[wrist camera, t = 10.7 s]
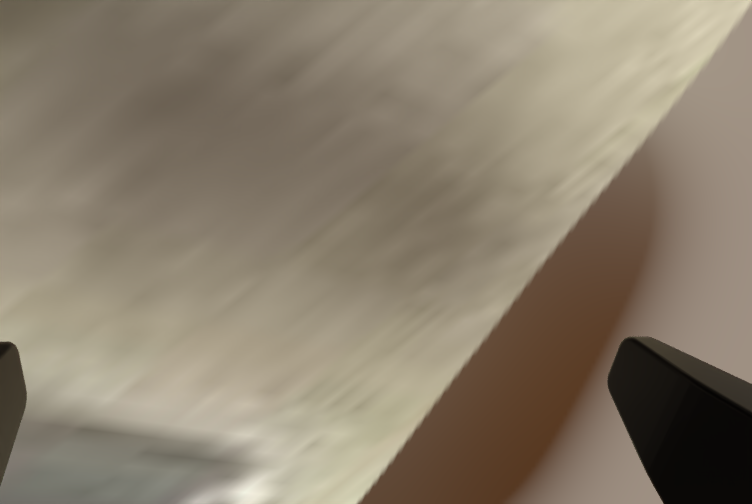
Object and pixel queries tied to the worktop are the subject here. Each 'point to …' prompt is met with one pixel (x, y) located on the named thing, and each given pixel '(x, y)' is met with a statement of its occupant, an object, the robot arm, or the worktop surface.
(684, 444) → the robot arm
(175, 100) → the worktop surface
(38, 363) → the worktop surface
